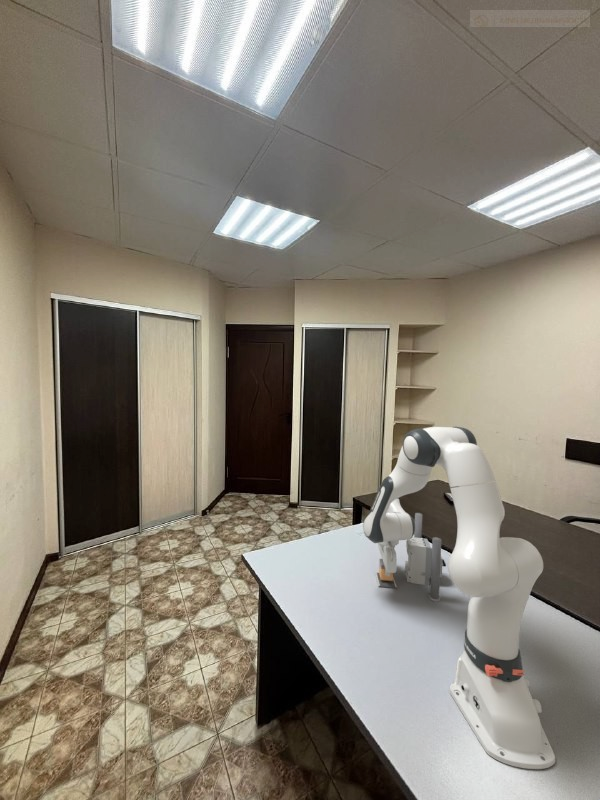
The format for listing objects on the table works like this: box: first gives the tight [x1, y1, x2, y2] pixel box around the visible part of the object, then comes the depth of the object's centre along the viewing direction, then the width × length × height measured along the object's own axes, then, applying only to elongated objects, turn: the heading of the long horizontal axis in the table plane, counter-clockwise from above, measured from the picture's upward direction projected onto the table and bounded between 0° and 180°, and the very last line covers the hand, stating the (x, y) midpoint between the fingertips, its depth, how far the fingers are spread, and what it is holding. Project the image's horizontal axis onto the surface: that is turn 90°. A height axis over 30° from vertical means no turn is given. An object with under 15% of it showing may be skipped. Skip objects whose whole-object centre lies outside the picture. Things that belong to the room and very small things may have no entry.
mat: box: [374, 572, 398, 590], centre depth 128 cm, size 9×7×1 cm
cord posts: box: [413, 512, 442, 603], centre depth 129 cm, size 27×4×22 cm, turn 175°
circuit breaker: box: [404, 536, 447, 586], centre depth 129 cm, size 8×14×15 cm, turn 78°
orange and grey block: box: [378, 558, 394, 581], centre depth 127 cm, size 4×4×6 cm
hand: (386, 570), depth 127 cm, fingers closed on orange and grey block, 4 cm apart
